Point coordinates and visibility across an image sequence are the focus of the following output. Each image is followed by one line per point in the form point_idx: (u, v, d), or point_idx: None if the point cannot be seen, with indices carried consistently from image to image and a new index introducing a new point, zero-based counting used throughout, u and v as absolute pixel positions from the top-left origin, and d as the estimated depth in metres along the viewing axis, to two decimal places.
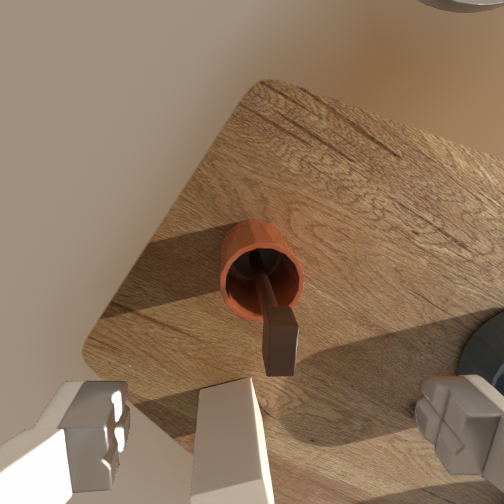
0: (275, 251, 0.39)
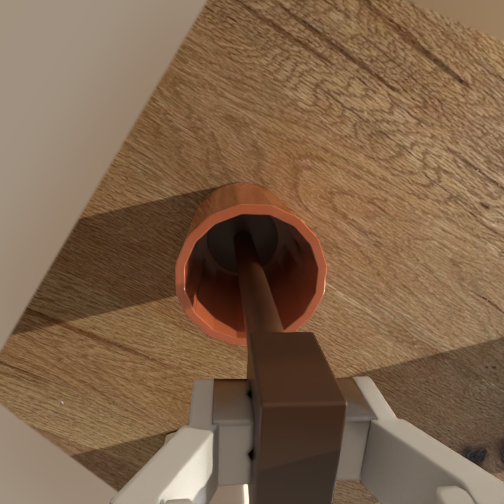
0: (275, 231, 0.25)
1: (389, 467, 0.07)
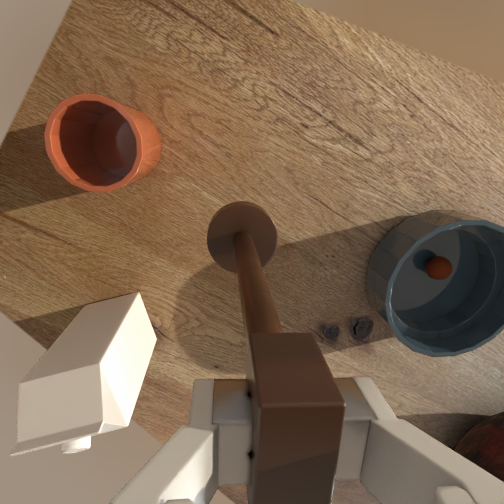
0: (275, 231, 0.25)
1: (389, 467, 0.07)
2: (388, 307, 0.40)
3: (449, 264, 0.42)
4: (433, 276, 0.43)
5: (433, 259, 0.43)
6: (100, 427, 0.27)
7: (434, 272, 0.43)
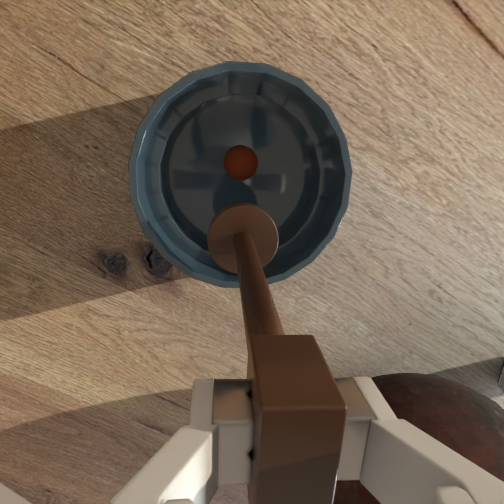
0: (275, 232, 0.25)
1: (389, 467, 0.07)
2: (137, 205, 0.27)
3: (248, 153, 0.29)
4: (229, 173, 0.30)
5: None
6: None
7: (228, 166, 0.29)
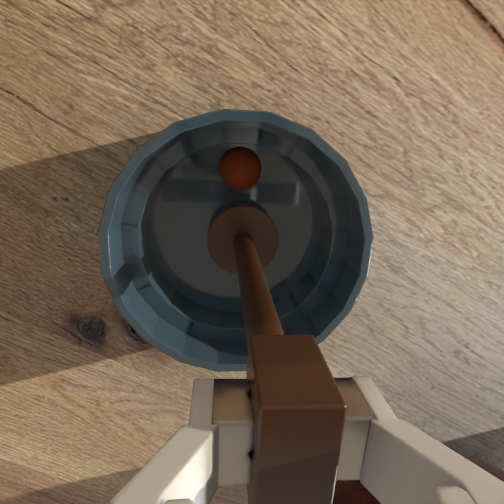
0: (275, 232, 0.25)
1: (389, 467, 0.07)
2: (110, 281, 0.22)
3: None
4: None
5: None
6: None
7: None
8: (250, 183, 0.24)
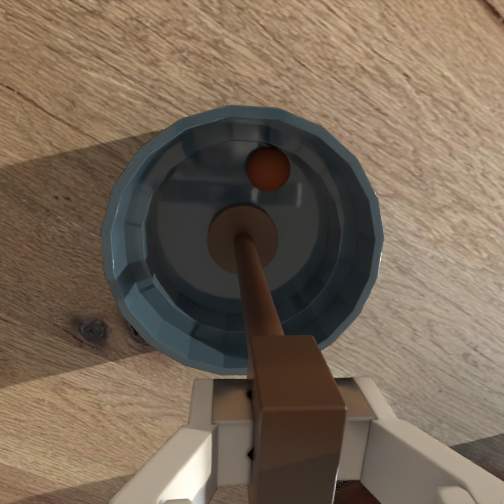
0: (275, 232, 0.25)
1: (389, 467, 0.07)
2: (113, 283, 0.21)
3: None
4: (271, 147, 0.23)
5: (247, 168, 0.24)
6: None
7: (262, 148, 0.24)
8: (276, 188, 0.24)
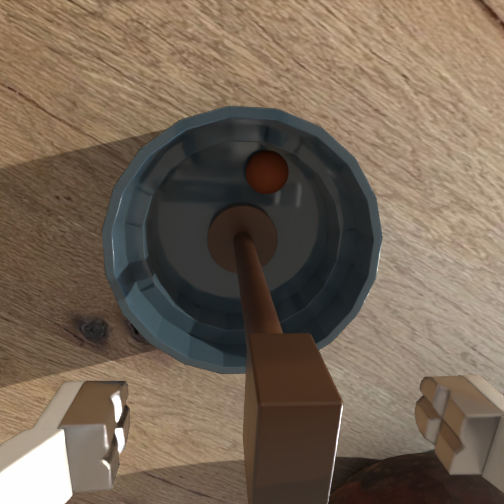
0: (274, 232, 0.25)
1: None
2: (114, 282, 0.21)
3: None
4: (269, 151, 0.23)
5: (246, 171, 0.24)
6: None
7: (261, 151, 0.24)
8: (274, 192, 0.24)
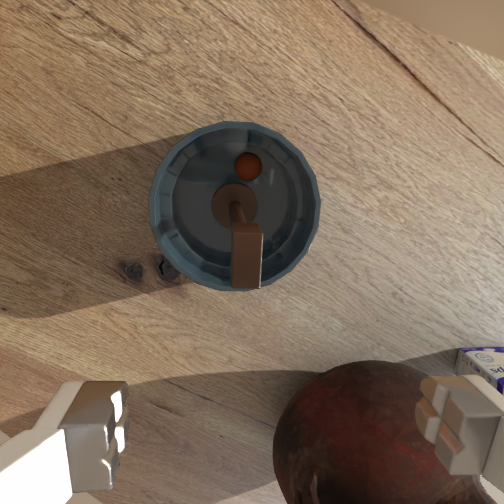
0: (255, 201, 0.39)
1: None
2: (155, 228, 0.35)
3: None
4: (249, 155, 0.36)
5: None
6: None
7: (244, 154, 0.37)
8: None
